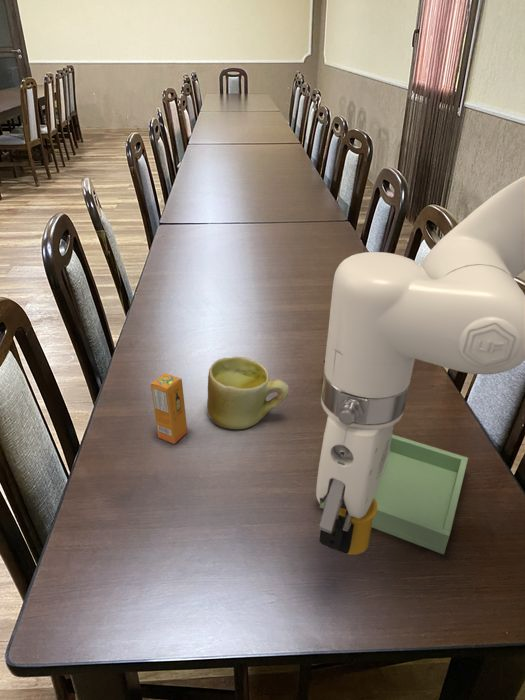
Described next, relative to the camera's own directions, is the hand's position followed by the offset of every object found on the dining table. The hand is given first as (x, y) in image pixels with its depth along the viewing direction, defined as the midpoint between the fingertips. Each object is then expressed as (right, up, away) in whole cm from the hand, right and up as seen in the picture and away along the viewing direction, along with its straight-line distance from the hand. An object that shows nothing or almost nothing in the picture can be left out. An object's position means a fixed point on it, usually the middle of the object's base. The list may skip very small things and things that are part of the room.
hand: (342, 527), depth 58 cm
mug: (-11, +9, +27) cm, 30 cm away
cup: (+1, -1, 0) cm, 2 cm away
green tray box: (+9, 0, +14) cm, 16 cm away
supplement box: (-22, +6, +23) cm, 32 cm away
